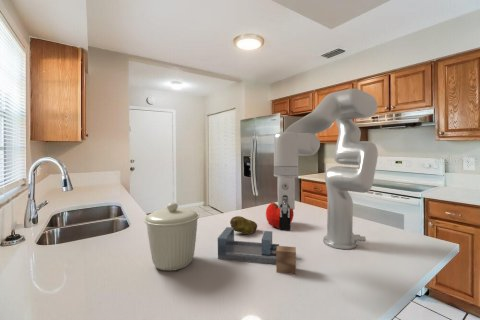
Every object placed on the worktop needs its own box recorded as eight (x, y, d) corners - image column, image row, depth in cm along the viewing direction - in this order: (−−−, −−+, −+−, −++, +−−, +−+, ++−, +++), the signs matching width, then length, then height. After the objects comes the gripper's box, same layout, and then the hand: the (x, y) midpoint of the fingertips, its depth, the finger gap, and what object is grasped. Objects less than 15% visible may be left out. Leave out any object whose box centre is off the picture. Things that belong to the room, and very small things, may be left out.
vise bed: (279, 249, 90) (279, 230, 90) (277, 264, 78) (277, 242, 78) (227, 245, 94) (226, 227, 94) (217, 258, 83) (217, 238, 82)
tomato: (263, 229, 114) (263, 205, 113) (270, 220, 127) (270, 199, 126) (290, 232, 108) (290, 207, 108) (295, 223, 121) (295, 201, 121)
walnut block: (295, 268, 76) (295, 247, 76) (295, 274, 72) (295, 252, 72) (277, 266, 77) (277, 245, 77) (276, 272, 73) (276, 250, 73)
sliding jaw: (292, 247, 87) (292, 232, 87) (292, 258, 79) (292, 242, 78) (264, 245, 90) (264, 230, 89) (261, 255, 81) (261, 239, 81)
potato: (259, 235, 105) (258, 218, 104) (230, 236, 104) (230, 219, 103) (256, 229, 113) (256, 213, 113) (230, 230, 112) (229, 214, 112)
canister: (139, 261, 82) (137, 202, 81) (187, 247, 93) (185, 195, 92) (155, 284, 67) (153, 213, 66) (209, 265, 78) (208, 203, 77)
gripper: (298, 174, 64) (298, 235, 64) (297, 170, 81) (296, 218, 81) (271, 173, 66) (271, 233, 66) (275, 169, 82) (275, 217, 83)
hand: (285, 225), depth 74 cm, fingers open, 9 cm apart
